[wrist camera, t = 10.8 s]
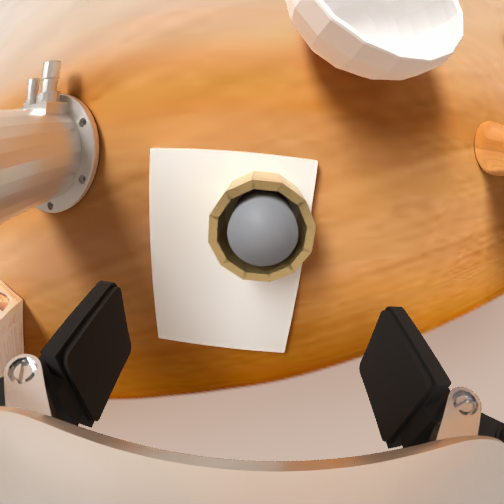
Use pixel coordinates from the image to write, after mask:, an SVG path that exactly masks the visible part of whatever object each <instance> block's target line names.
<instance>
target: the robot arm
mask: <svg viewBox="0 0 504 504" xmlns="http://www.w3.org/2000/svg"><path fill="white" fill-rule="evenodd" d="M60 68H61V61H48V62H45V63H43V69H42V76H41V81H42V83H41V92H40V93H39V94H37V93H38V89H39V81H40V79H39V78H34V79H29V80H28V84H27V98H26V102H24V103H23V107H22V108H18V109H6V110H0V224H2V223H4V222H6V221H8V220H10V219H12V218H14V217H16V216H18V215H20V214H22V213H24V212H26V211H28V210H31V209H33V208H35V207H36V208H38V209H40V210H41V211H44V212H48V213H58V212H61V211H65V210H67V209H69V208H71V207H73V206H74V205H75V204H77V203H78V202H79V201H80V200H81V199H82V198H83V197H84V195H85V194H86V193H87V191H88V189H89V188H90V186H91V184H92V182H93V179H94V176H95V174H96V170H97V165H98V159H99V136H98V131H97V126H96V123H95V121H94V118H93V115H92V114H91V112H90V111H89V109H88V107H87V106H86V105H85V104H84V103H83V102H82V101H81V100H79V99H78V98H76V97H74V96H72V95H68V94H60V92H58V91H56V90H57V82H58V79H59V74H60ZM130 351H131V342H130V338H129V333H128V328H127V323H126V317H125V312H124V306H123V300H122V294H121V289H120V288H119V287H117V285H116V284H115V283H113V282H106V281H100V282H98V283H97V285H96V286H95V287H94V288H93V289H92V290H91V291H90V292H89V294H88V295H87V296H86V297H85V298H84V299H83V300H82V301H81V303H80V304H79V305H78V306H77V307H76V308H75V310H74V311H73V312H72V313H71V314H70V316H69V317H68V318H67V319H66V320H65V322H64V323H63V324H62V325H61V326H60V328H59V329H58V330H57V331H56V333H55V334H54V335H53V336H52V338H51V339H50V340H49V341H48V343H47V344H46V345H45V347H44V348H43V349H42V351H41V354H42V355H41V356H40V358H39V359H38V358H37V357H36V356H34V355H31V354H21V355H18V356H16V357H14V358H13V359H11V360H10V361H9V362H8V363H7V365H6V367H5V370H4V377H1V378H0V504H504V423H502V422H500V421H498V420H495V419H493V418H491V417H489V416H487V415H485V414H483V413H481V402H480V399H479V398H478V396H477V395H476V394H475V393H474V392H473V391H471V390H469V389H467V388H464V387H457V388H454V389H452V391H450V390H449V388H448V387H449V386H450V384H451V381H450V380H449V378H448V376H447V375H446V373H445V371H444V370H443V368H442V366H441V365H440V363H439V361H438V360H437V358H436V357H435V355H434V353H433V352H432V350H431V349H430V347H429V346H428V344H427V342H426V341H425V339H424V338H423V336H422V335H421V333H420V332H419V330H418V329H417V327H416V326H415V324H414V323H413V321H412V320H411V319H410V317H409V316H408V314H407V313H406V311H405V310H404V309H403V308H402V307H387V308H386V309H385V310H383V311H382V312H381V314H380V316H379V319H378V322H377V324H376V327H375V329H374V332H373V334H372V337H371V339H370V342H369V344H368V346H367V349H366V351H365V353H364V356H363V358H362V360H361V363H360V374H361V377H362V379H363V382H364V385H365V388H366V391H367V394H368V397H369V400H370V403H371V405H372V409H373V412H374V415H375V418H376V421H377V424H378V428H379V431H380V434H381V437H382V440H383V441H386V443H387V446H388V448H393V447H397V446H401V445H402V446H403V448H402V449H397V450H392V451H387V452H382V453H375V454H370V455H363V456H355V457H347V458H338V459H327V460H313V461H276V462H274V461H245V460H232V459H221V458H211V457H203V456H196V455H189V454H183V453H177V452H171V451H166V450H161V449H156V448H151V447H147V446H143V445H139V444H135V443H131V442H127V441H124V440H120V439H117V438H113V437H110V436H106V435H103V434H100V433H97V432H94V431H90V430H87V429H84V428H81V427H79V426H78V424H79V423H80V424H83V425H85V426H88V427H92V425H93V423H94V421H98V420H99V419H100V416H101V414H102V412H103V410H104V407H105V405H106V403H107V401H108V399H109V396H110V394H111V392H112V390H113V388H114V386H115V383H116V381H117V379H118V377H119V375H120V373H121V371H122V369H123V367H124V364H125V362H126V360H127V358H128V356H129V354H130Z"/></svg>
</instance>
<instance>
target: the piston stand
mask: <svg viewBox="0 0 504 504" xmlns="http://www.w3.org/2000/svg"><path fill="white" fill-rule="evenodd" d="M317 166H318V161H317V160H311V159H304V158H297V157H289V156H280V155H272V154H262V153H252V152H240V151H226V150H210V149H187V148H151V149H150V173H149V215H150V246H151V264H152V278H153V291H154V301H155V311H156V320H157V329H158V337H159V338H162V339H168V340H174V341H180V342H187V343H194V344H201V345H208V346H216V347H225V348H234V349H244V350H254V351H267V352H281V353H284V352H285V347H286V343H287V338H288V334H289V329H290V324H291V319H292V315H293V310H294V305H295V300H296V295H297V289H298V284H299V279H300V274H301V268H302V264H301V265H300V267H299V268H298V269H297V270H296V271H295V272H294V273H292V274H289V275H287V276H284V277H282V278H279V279H277V280H274V281H271V282H263V281H252V280H243V279H241V278H240V277H238V276H237V275H235V274H234V273H232V272H230V271H229V270H227V269H226V268H224V267H223V266H221V265H220V263H219V261H218V259H217V258H216V256H215V254H214V252H213V250H212V248H211V247H210V245H209V243H208V230H209V215H210V213H211V212H212V210H213V209H214V207H215V206H216V204H217V203H218V201H219V200H220V198H221V197H222V195H223V194H224V192H225V191H226V189H227V188H228V187H229V185H230V184H231V182H232V181H233V180H235V179H237V178H239V177H241V176H243V175H246V174H248V173H250V172H252V171H264V172H273V173H279V174H280V175H282V176H283V177H284V178H286V179H287V180H288V181H290V182H291V183H293V184H294V185H295V186H297V188H298V189H299V191H300V192H301V194H302V195H303V197H304V198H305V200H306V202H307V204H308V207H309V209H310V212H311V208H312V202H313V195H314V188H315V181H316V174H317ZM297 217H298V206H297V204H295V203H294V202H292V201H291V200H290V199H288V198H287V197H286V196H284V195H283V194H281V193H280V192H279V191H269V190H259V189H252V190H250V191H248V192H246V193H243V194H241V195H239V196H237V197H235V198H232V199H231V200H230V202H229V203H228V204H227V207H226V222H227V224H228V229H227V236H228V241H229V244H230V247H231V248H232V250H233V252H234V253H235V254H236V255H237V256H238V257H239V258H240V259H242V260H243V261H245V262H247V263H249V264H252V265H256V266H270V265H274V264H277V263H279V262H281V261H283V260H284V259H285V258H287V257H288V256H289V255H290V254H291V252H292V251H293V250H294V248H295V246H296V243H297V240H298V226H297Z"/></svg>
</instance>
